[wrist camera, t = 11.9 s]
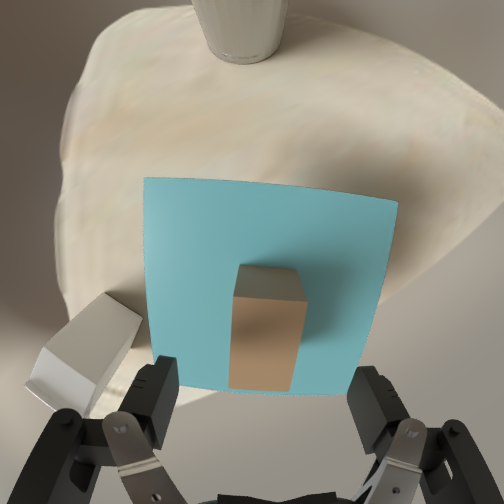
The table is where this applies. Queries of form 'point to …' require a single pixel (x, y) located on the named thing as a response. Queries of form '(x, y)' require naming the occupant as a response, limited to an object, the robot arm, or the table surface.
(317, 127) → the table surface
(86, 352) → the milk carton
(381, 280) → the teal square mat
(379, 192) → the table surface
